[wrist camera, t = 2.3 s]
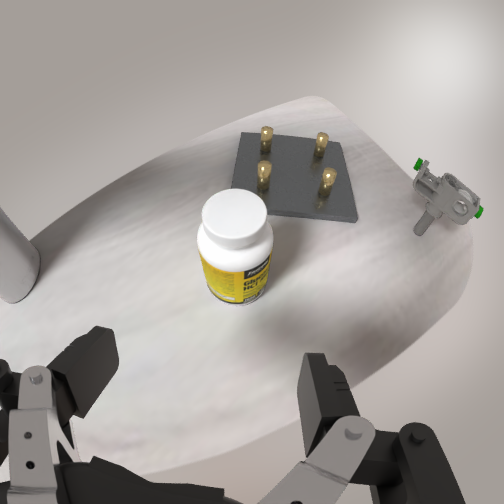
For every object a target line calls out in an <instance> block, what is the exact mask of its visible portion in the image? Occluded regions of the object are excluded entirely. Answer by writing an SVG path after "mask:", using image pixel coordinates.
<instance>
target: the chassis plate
mask: <svg viewBox="0 0 504 504" xmlns="http://www.w3.org/2000/svg"><path fill="white" fill-rule="evenodd" d="M328 138H329V136H328V135H327V134H326V133H322V132H320V133H318V136H317V139H311V138H303V137H294V136H284V135H273V129H272V128H271V127H268V126H265V127H262V129H261V134H260V133H244V132H242V133H241V138H240V143H239V148H238V154H237V159H236V164H235V170H234V175H233V181H232V187H231V189H244V190H247V191H250V192H252V193H254V194H256V195H257V196H259V197H260V198H261V199H262V201H263V202H264V204H265V206H266V208H267V215H279V216H290V217H301V218H312V219H322V220H331V221H341V222H350V223H355V222H356V221H357V219H358V217H357V212H356V207H355V203H354V198H353V193H352V189H351V184H350V180H349V176H348V172H347V168H346V164H345V160H344V156H343V152H342V149H341V145H340V143H339V142H332V141H328Z"/></svg>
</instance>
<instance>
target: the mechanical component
mask: <svg viewBox="0 0 504 504" xmlns="http://www.w3.org/2000/svg"><path fill="white" fill-rule="evenodd" d="M422 162H423V160H422V159H420V158H419V159H418V161H417V162H416V164H415V166H414V169H415V170H416V171H418V169H419V172H418V174H417V176H416V178H415V179H414V181H413V187H414V189H415V191H416V192H417V193H418V194H420V195H421V196H423V197H424V198H425V199H427V200H428V201H429V202H427V203H426V212H425V213H424V215H423V216H422V218H421V219H420V220H419V221H418V223H417V224H416V226H415V228H414V232H415V233H416V234H417V235H418V236H420V235H422V234H423V233H424V231H425V230H426V229H427V228H428V226H429V225H430V224H431V223H432V221H433V220H434V219H435V218H440V217H441V216H442V213H444V214H446V215H447V216H448V217H449V218H451V219H452V220H453V221H454V222H455V223H457V224H459V225H464V224H466V223H467V222H468V221H469V220H470V219H471V218H473V217H474V216H475V217H476V218H479V217H480V216H481V214H482V212H483V208H482V207H481V206H480V198H479V197H478V196H477V195H476V194H474V193H473V192H472V191H471V190H470V189H469V188H467V187H466V186H465V185H464V184H462V183H461V182H460V181H459V180H458V179H457V178H456V177H454V176H453V175H451V174H449V173H445V174H444V176H442V178H440V177H438V178H437V177H435V176H434V175H433V174H431V173H430V172H429V169H428V168H427V166H428V165H429V162H428V161H427V160H425V161H424V163H422ZM429 179H431V180H432V182H431V181H430V180H429ZM458 201H463V202H464V203H465V204H461V203H460V202H458Z"/></svg>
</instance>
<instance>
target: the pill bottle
mask: <svg viewBox="0 0 504 504" xmlns="http://www.w3.org/2000/svg"><path fill="white" fill-rule="evenodd" d="M273 241H274V236H273V231H272V227H271V225H270V223H269V222H268V220H267V208H266V206H265V204H264V202H263V201H262V199H261V198H260V197H259V196H257V195H256V194H254V193H252V192H250V191H247V190H244V189H227V190H223V191H220V192H218V193H216V194H214V195H213V196H212V197H210V198H209V199H208V200H207V202H206V203H205V205H204V207H203V210H202V223H201V225H200V227H199V230H198V234H197V245H198V250H199V254H200V257H201V261H202V266H203V270H204V273H205V278H206V281H207V285H208V288H209V290H210V292H211V293H212V295H213V296H214V297H215V298H216V299H217V300H219V301H220V302H222V303H224V304H227V305H231V306H243V305H246V304H249V303H251V302H253V301H255V300H256V299H257V298H258V297H259V296H260V295H261V294H262V292H263V291H264V289H265V286H266V282H267V277H268V271H269V266H270V260H271V254H272V248H273Z"/></svg>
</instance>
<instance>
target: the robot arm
mask: <svg viewBox="0 0 504 504" xmlns="http://www.w3.org/2000/svg"><path fill="white" fill-rule="evenodd" d="M39 267H40V257H39V253H38V251H37V249H36V248H35V247H34V246H33V245H32V244H31V243H30V242H29V241H28V240H27V238H26V237H25V236H24V235H23V234H22V233H21V231H20V230H19V229H18V228H17V227H16V226H15V224H14V223H13V222H12V221H11V220H10V218H9V217H8V216H7V215H6V214H5V212H4V211H3V210H2V209H1V207H0V298H2V299H3V300H4V301H6V302H8V303H15V302H18V301H20V300H21V299H23V298H24V297H25V296H26V295H27V294H28V292H29V291H30V290H31V288H32V287H33V285H34V283H35V281H36V278H37V276H38V272H39ZM118 366H119V357H118V352H117V347H116V341H115V336H114V332H113V330H112V329H109V328H104V327H100V326H95V327H94V328H93V329H92V330H90V331H89V332H88V333H87V334H85V335H82V336H80V337H78V338H76V339H75V340H74V341H73V342H72V343H71V344H70V345H69V346H67V347H66V348H65V349H64V351H62V352H61V353H60V354H59V355H58V356H57V357H56V358H55V359H54V360H53V361H52V362H51V363H50V364H49V365H48V366H47V367H44V366H32V367H30V368H28V369H26V370H25V371H24V372H23V373H16V372H11V370H10V367H9V365H8V363H7V362H6V361H5V360H3V359H0V406H1V408H2V409H1V410H0V466H1V465H2V463H3V461H4V460H5V458H6V457H7V455H8V454H9V470H10V481H6V482H2V483H0V504H242V503H240V502H238V501H236V500H233V499H231V498H228V497H225V496H224V489H223V488H214V487H206V486H200V485H194V484H174V483H173V484H172V483H153V482H149V481H147V480H145V479H143V478H142V477H140V476H138V475H136V474H134V473H133V472H131V471H129V470H127V469H126V468H124V467H122V466H120V465H117V464H114V463H111V462H108V461H106V460H103V459H101V458H98V457H96V456H93V458H92V460H91V462H90V463H88V462H82V461H81V459H80V456H79V453H78V448H77V444H76V439H75V434H74V429H73V423H72V421H71V419H70V418H71V417H72V415H75V416H78V417H80V418H83V419H84V417H85V416H86V414H87V413H88V411H89V410H90V408H91V407H92V405H93V404H94V403H95V401H96V400H97V398H98V397H99V395H100V394H101V393H102V391H103V390H104V388H105V387H106V385H107V384H108V383H109V381H110V380H111V378H112V377H113V376H114V374H115V373H116V371H117V369H118ZM297 397H298V404H299V411H300V418H301V425H302V432H303V440H304V447H305V454H306V457H307V459H306V460H305V461H304V462H302V461H301V462H299V463H298V464H297V465H296V466H295V467H294V468H293V469H292V470H291V471H290V472H289V473H288V474H287V475H286V476H285V477H284V478H283V479H282V480H281V481H280V482H279V483H278V484H277V485H276V486H275V488H273V489H272V490H271V491H270V492H269V493H268V494H267V495H266V496H265V497H264V498H263V499H262V500H261V501H260V502H259V503H258V504H335V503H336V501H337V500H338V498H339V497H340V496H341V494H342V493H343V491H344V490H345V488H346V487H347V485H348V483H354V484H364V485H369V486H370V491H371V496H372V501H373V504H465V501H464V498H463V496H462V494H461V491H460V489H459V486H458V483H457V481H456V479H455V477H454V474H453V472H452V470H451V467H450V465H449V463H448V461H447V458H446V456H445V454H444V452H443V450H442V448H441V446H440V443H439V441H438V439H437V437H436V435H435V433H434V432H433V430H432V429H431V428H430V427H428V426H427V425H425V424H422V423H415V422H414V423H409V424H406V425H405V426H403V427H402V428H401V430H400V432H399V433H398V432H386V431H379V430H376V429H375V428H374V426H373V425H372V423H371V422H369V421H368V420H367V419H365V418H363V417H360V414H359V411H358V409H357V406H356V404H355V401H354V398H353V396H352V393H351V391H350V388H349V385H348V383H347V380H346V378H345V375H344V373H343V372H342V371H341V370H340V369H339V368H338V367H337V366H336V365H328V363H327V360H326V358H325V355H324V353H305V354H304V357H303V362H302V366H301V371H300V376H299V380H298V387H297Z"/></svg>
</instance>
